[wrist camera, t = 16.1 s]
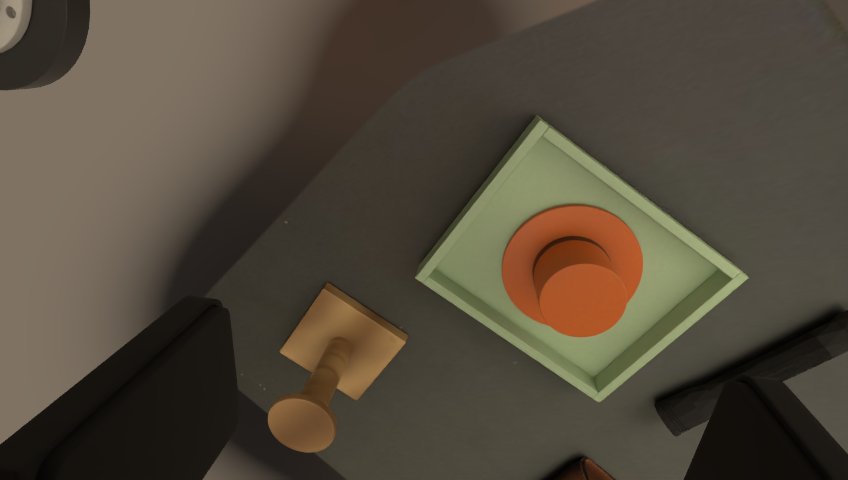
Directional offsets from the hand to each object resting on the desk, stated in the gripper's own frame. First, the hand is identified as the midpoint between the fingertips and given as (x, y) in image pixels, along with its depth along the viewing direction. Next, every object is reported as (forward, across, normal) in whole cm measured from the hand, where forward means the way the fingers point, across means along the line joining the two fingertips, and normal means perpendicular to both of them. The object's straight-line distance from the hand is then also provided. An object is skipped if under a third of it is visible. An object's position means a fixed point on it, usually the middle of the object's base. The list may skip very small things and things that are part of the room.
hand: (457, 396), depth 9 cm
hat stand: (+28, +11, +20) cm, 36 cm away
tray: (+28, -8, +10) cm, 31 cm away
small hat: (+28, -8, +10) cm, 30 cm away
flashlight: (+28, -25, +17) cm, 41 cm away
